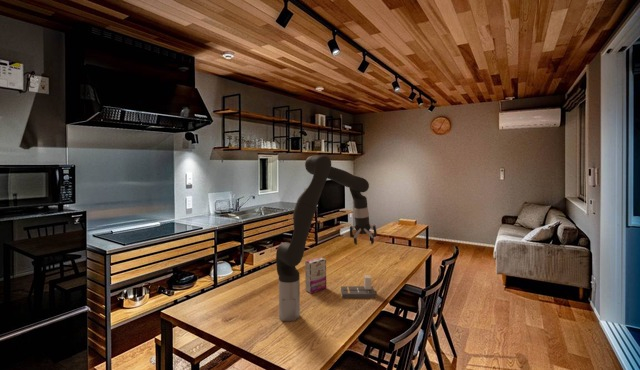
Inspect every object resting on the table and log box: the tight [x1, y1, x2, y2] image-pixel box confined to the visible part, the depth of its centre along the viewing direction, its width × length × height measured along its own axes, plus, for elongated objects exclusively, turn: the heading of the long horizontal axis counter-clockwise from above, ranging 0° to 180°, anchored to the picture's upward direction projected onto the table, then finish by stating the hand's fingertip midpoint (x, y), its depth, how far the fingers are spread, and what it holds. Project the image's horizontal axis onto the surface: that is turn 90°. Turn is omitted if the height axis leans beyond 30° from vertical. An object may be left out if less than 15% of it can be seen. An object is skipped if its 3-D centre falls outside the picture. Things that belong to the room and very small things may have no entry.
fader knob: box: [363, 274, 372, 290], centre depth 173 cm, size 4×3×7 cm
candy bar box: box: [304, 256, 327, 294], centre depth 179 cm, size 11×5×16 cm, turn 129°
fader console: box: [340, 285, 377, 299], centre depth 174 cm, size 10×17×2 cm, turn 91°
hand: (364, 244), depth 180 cm, fingers open, 8 cm apart
